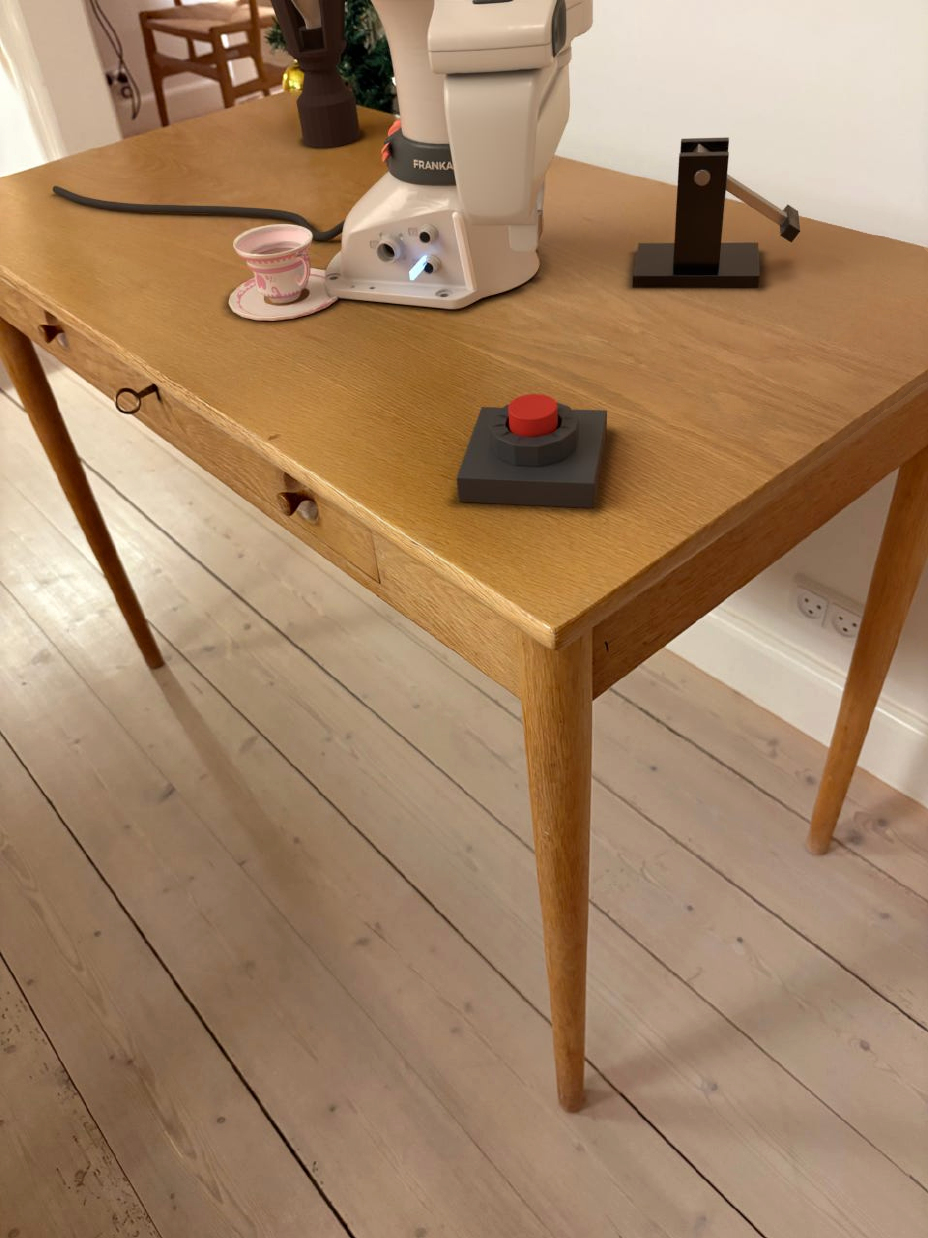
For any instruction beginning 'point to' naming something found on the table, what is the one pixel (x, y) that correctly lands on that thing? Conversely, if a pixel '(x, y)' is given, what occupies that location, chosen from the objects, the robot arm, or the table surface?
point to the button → (533, 415)
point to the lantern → (319, 69)
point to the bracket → (699, 230)
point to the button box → (534, 461)
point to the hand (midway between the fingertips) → (527, 243)
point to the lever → (764, 206)
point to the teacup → (278, 274)
